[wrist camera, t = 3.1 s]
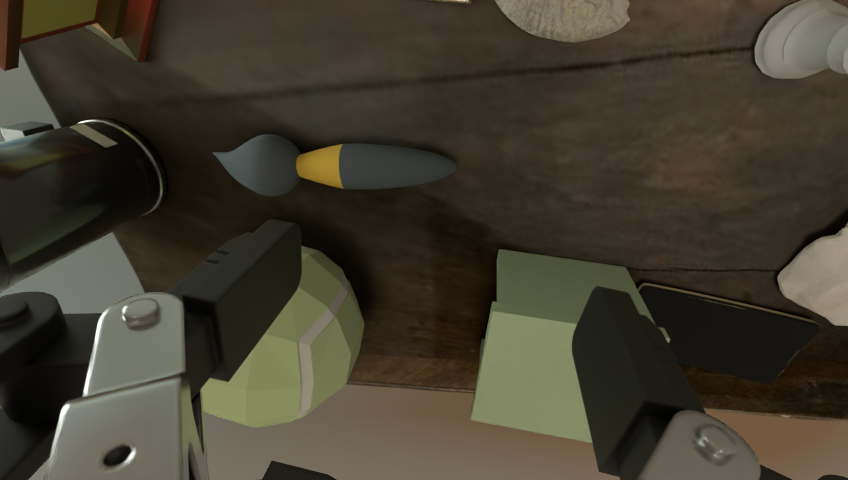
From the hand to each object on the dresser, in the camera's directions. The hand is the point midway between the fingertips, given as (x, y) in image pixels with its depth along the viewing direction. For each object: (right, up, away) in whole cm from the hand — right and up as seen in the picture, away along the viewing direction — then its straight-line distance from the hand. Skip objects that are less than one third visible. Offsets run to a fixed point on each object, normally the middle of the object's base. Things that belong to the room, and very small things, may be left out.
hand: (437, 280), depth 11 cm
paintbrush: (-7, +9, +23) cm, 26 cm away
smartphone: (+25, -7, +25) cm, 36 cm away
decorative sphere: (-12, -3, +30) cm, 33 cm away
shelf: (+11, -6, +27) cm, 30 cm away
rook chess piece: (+23, +14, +14) cm, 30 cm away
